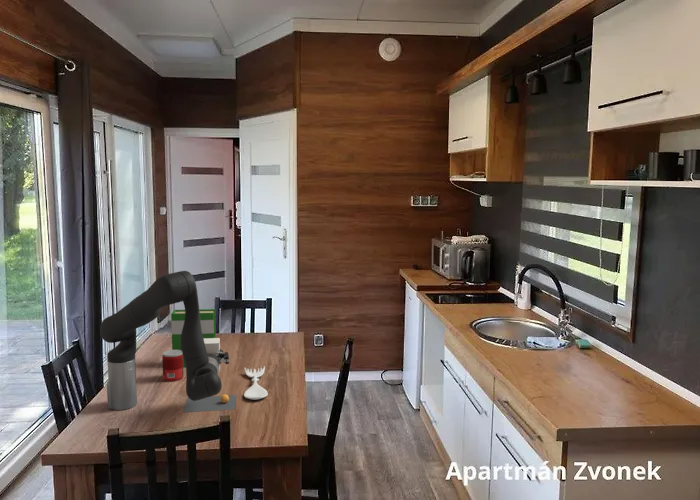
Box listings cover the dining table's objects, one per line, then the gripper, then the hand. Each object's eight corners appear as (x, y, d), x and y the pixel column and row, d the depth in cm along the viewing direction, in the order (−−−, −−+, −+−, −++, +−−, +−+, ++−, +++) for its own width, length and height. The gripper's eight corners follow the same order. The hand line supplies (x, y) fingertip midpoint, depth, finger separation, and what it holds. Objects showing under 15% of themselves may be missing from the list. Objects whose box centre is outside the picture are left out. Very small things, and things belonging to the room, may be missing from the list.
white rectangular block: (200, 373, 194) (200, 343, 192) (202, 367, 200) (201, 338, 199) (219, 372, 195) (218, 343, 194) (220, 366, 201) (219, 337, 200)
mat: (183, 413, 191) (182, 404, 190) (187, 398, 204) (187, 390, 203) (235, 410, 194) (235, 401, 194) (236, 396, 207) (236, 387, 206)
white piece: (265, 372, 233) (265, 364, 232) (268, 403, 201) (268, 394, 201) (243, 373, 231) (243, 366, 230) (243, 404, 200) (243, 395, 199)
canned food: (187, 378, 224) (186, 352, 223) (169, 383, 219) (168, 356, 217) (177, 373, 230) (176, 348, 228) (159, 378, 224) (158, 352, 222)
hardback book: (216, 361, 246) (215, 309, 243) (214, 366, 239) (213, 313, 235) (175, 362, 243) (174, 309, 240) (172, 368, 236) (171, 313, 233)
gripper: (229, 356, 184) (230, 341, 200) (185, 358, 181) (190, 343, 197) (229, 377, 185) (230, 361, 201) (185, 379, 182) (190, 363, 198)
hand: (210, 352), depth 199 cm, fingers closed on white rectangular block, 6 cm apart
